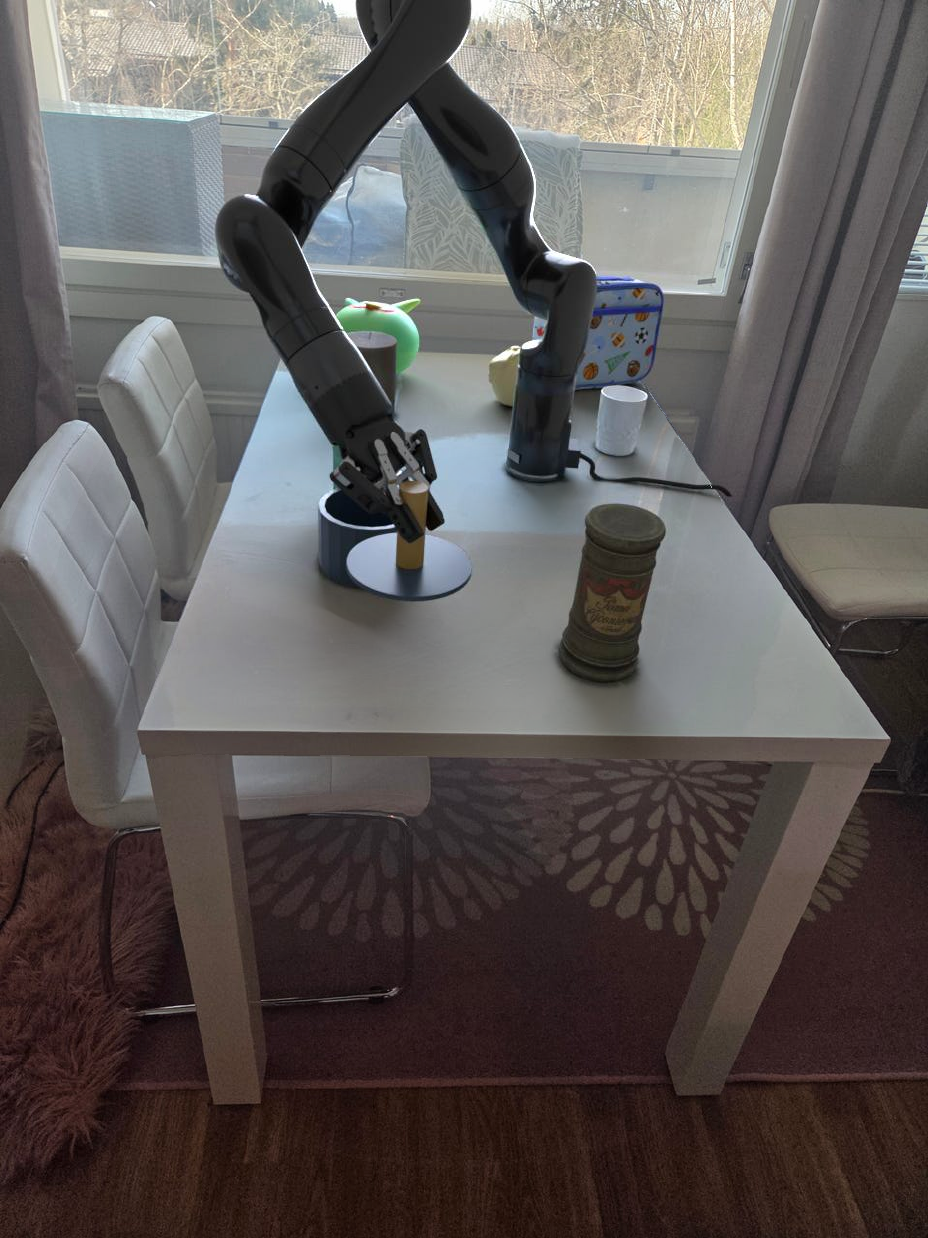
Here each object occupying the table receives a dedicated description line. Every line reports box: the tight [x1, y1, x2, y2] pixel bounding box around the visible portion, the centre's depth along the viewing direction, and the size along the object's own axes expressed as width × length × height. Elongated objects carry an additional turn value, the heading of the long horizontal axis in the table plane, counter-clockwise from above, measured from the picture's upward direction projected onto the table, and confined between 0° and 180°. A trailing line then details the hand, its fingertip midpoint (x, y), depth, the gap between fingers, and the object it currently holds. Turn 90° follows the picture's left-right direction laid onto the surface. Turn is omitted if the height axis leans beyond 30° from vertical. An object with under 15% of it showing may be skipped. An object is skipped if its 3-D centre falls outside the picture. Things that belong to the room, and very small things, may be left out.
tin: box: [317, 488, 397, 589], centre depth 110 cm, size 13×13×8 cm
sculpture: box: [487, 345, 521, 407], centre depth 164 cm, size 12×12×11 cm
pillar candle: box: [347, 331, 397, 420], centre depth 151 cm, size 10×10×15 cm
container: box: [558, 502, 667, 683], centre depth 94 cm, size 9×9×18 cm
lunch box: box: [531, 275, 665, 391], centre depth 173 cm, size 28×10×22 cm, turn 115°
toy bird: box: [335, 297, 421, 375], centre depth 170 cm, size 18×17×15 cm
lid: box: [346, 480, 473, 603], centre depth 91 cm, size 14×14×10 cm
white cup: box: [595, 385, 649, 457], centre depth 149 cm, size 8×8×10 cm
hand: (427, 532), depth 90 cm, fingers closed on lid, 3 cm apart
